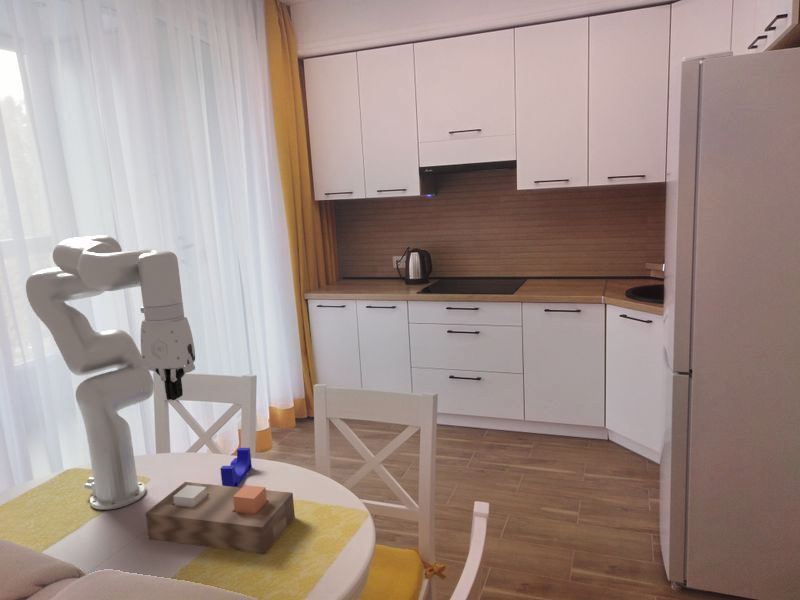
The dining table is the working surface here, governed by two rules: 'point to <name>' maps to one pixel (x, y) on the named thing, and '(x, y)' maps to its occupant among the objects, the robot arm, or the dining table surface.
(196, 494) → the white rectangular block
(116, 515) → the dining table surface
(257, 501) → the terracotta plunger
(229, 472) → the cable clip
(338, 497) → the dining table surface
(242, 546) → the button box
